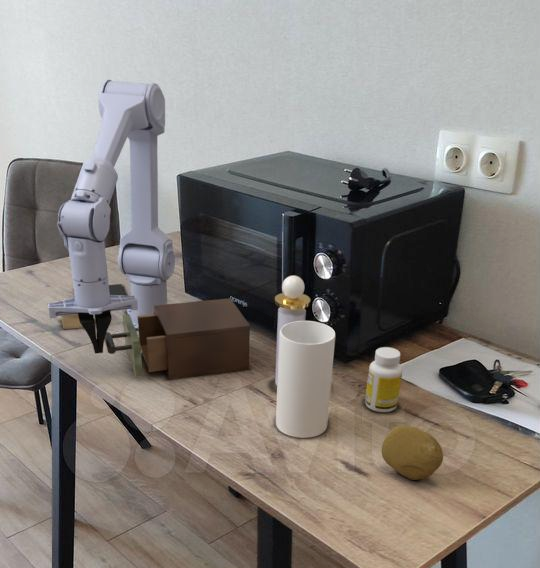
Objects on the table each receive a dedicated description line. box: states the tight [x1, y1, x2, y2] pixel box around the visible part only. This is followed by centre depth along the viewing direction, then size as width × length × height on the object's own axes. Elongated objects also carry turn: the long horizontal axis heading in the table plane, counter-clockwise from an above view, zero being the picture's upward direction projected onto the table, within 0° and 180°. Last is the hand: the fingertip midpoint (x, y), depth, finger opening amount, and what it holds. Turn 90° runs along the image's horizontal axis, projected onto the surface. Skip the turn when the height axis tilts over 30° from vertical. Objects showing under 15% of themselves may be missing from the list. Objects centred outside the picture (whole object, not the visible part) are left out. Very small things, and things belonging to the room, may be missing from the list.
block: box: [58, 298, 83, 330], centre depth 139 cm, size 4×4×4 cm
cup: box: [275, 320, 336, 439], centre depth 108 cm, size 8×8×16 cm
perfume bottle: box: [273, 275, 311, 386], centre depth 117 cm, size 6×6×20 cm
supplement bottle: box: [364, 346, 403, 413], centre depth 115 cm, size 5×5×10 cm
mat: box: [109, 283, 127, 296], centre depth 152 cm, size 10×10×1 cm
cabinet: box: [153, 297, 251, 380], centre depth 127 cm, size 15×13×9 cm
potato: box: [381, 425, 444, 481], centre depth 99 cm, size 7×8×8 cm
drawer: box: [104, 313, 168, 378], centre depth 125 cm, size 18×11×7 cm, turn 108°
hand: (98, 350), depth 122 cm, fingers closed
